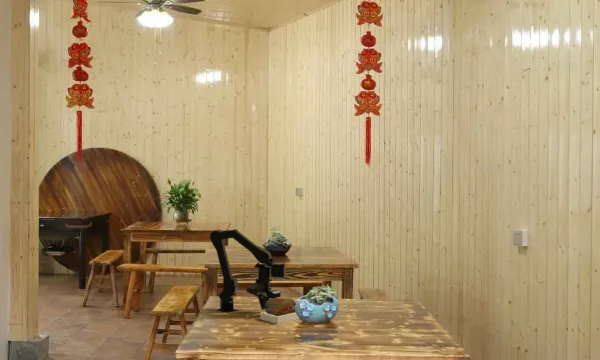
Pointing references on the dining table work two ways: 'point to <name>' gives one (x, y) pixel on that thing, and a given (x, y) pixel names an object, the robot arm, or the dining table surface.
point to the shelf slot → (278, 317)
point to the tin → (280, 306)
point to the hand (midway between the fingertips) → (262, 309)
